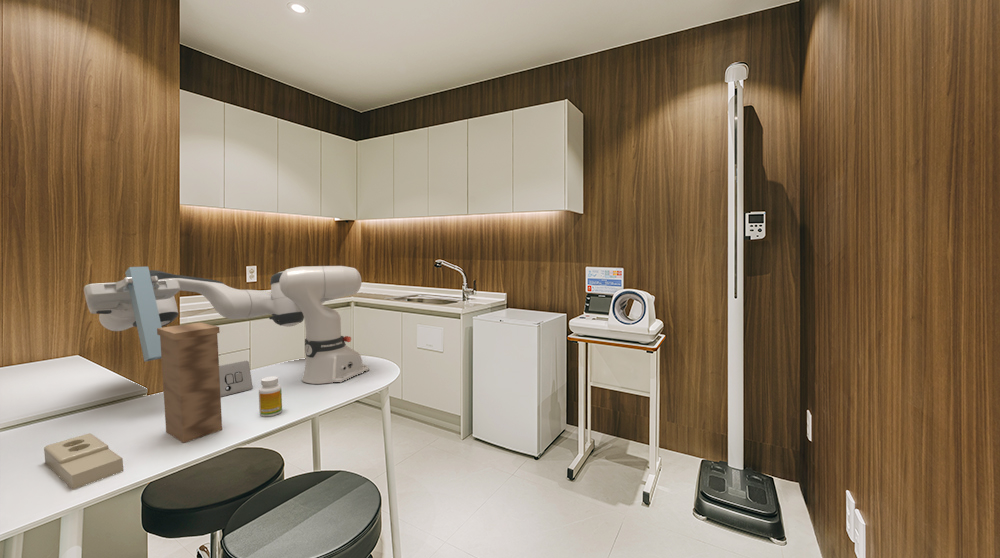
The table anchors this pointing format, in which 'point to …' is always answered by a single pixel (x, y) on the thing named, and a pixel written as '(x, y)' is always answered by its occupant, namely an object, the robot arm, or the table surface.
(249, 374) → the electrical switch
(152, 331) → the batten
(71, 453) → the electrical outlet
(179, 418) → the tall wooden block
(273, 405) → the supplement bottle
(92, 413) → the table surface
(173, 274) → the robot arm
